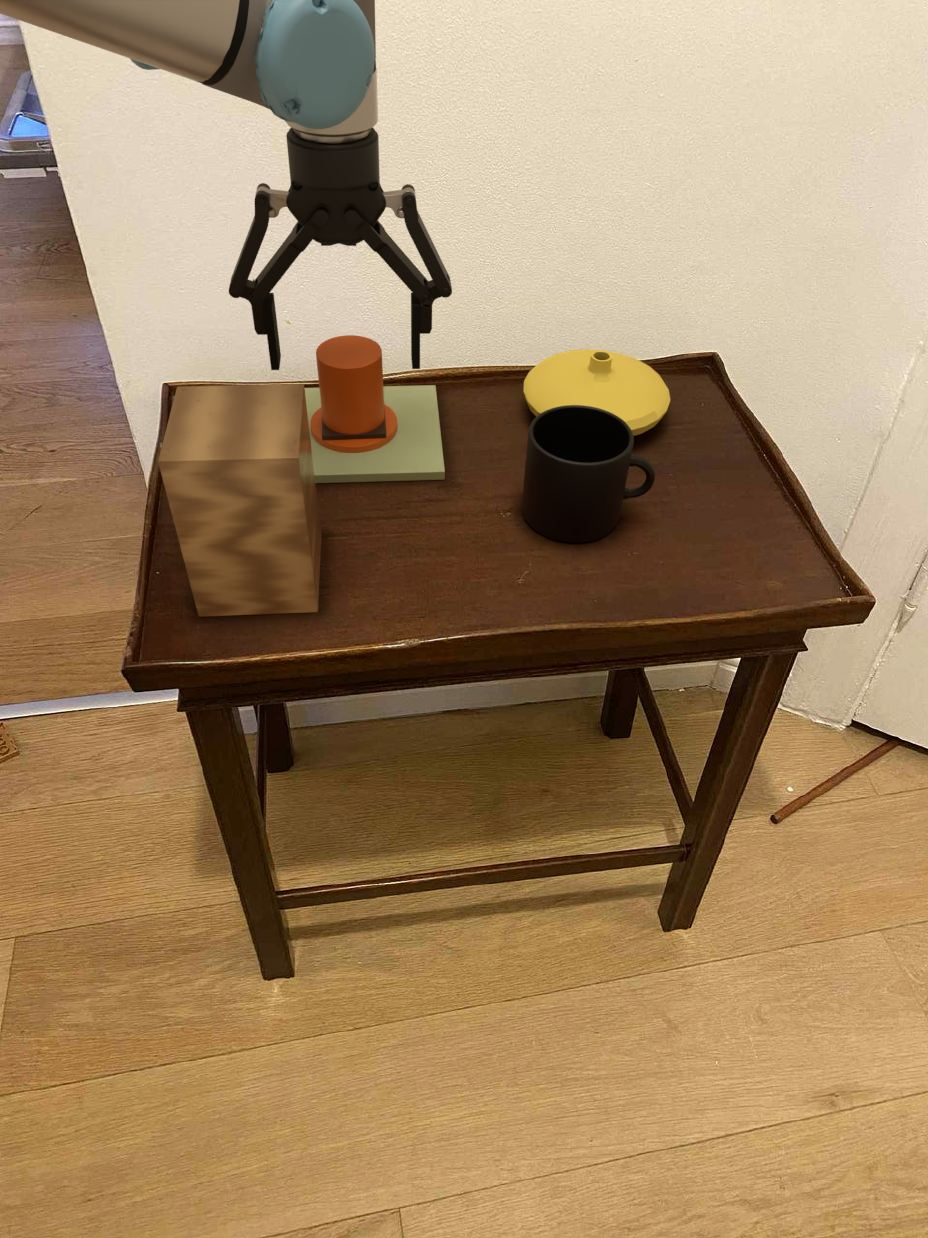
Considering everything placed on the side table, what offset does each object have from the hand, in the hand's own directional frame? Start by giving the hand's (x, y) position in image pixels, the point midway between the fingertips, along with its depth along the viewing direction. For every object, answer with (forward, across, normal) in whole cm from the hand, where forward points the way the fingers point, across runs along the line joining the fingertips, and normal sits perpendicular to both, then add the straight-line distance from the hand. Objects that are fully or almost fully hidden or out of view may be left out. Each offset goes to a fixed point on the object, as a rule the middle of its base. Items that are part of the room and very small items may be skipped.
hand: (346, 362), depth 90 cm
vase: (+8, +26, +3) cm, 28 cm away
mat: (+9, 0, 0) cm, 9 cm away
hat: (+8, 0, 0) cm, 8 cm away
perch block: (+9, -8, -21) cm, 24 cm away
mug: (+9, +22, -14) cm, 28 cm away
